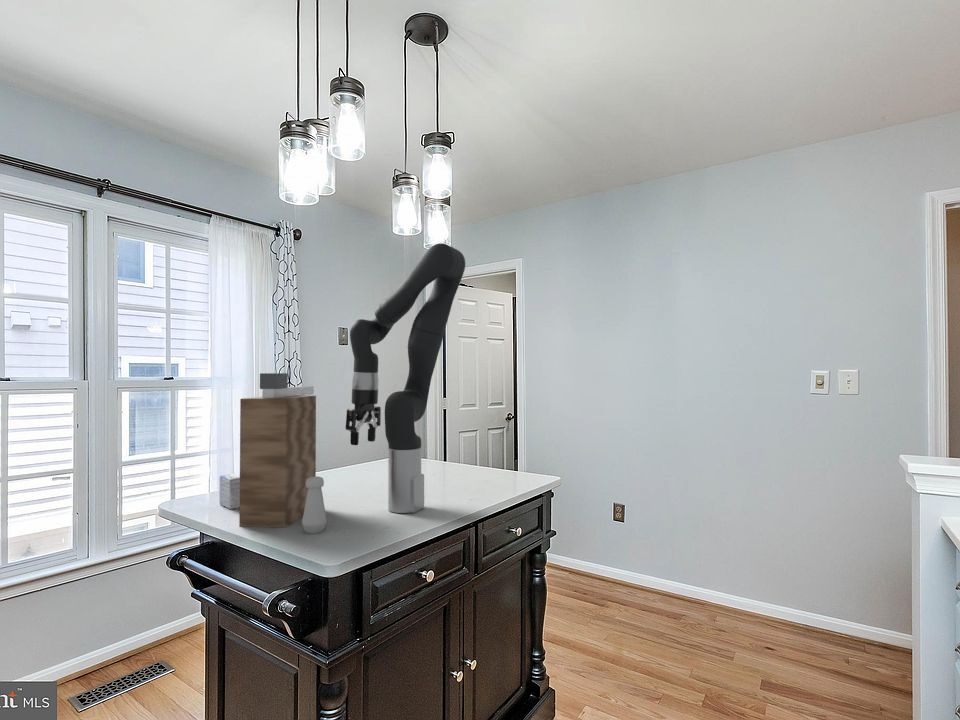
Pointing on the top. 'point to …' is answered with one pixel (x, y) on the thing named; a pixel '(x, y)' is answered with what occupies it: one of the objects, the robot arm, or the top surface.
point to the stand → (276, 458)
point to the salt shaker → (314, 507)
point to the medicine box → (230, 491)
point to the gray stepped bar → (281, 386)
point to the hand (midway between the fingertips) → (363, 443)
